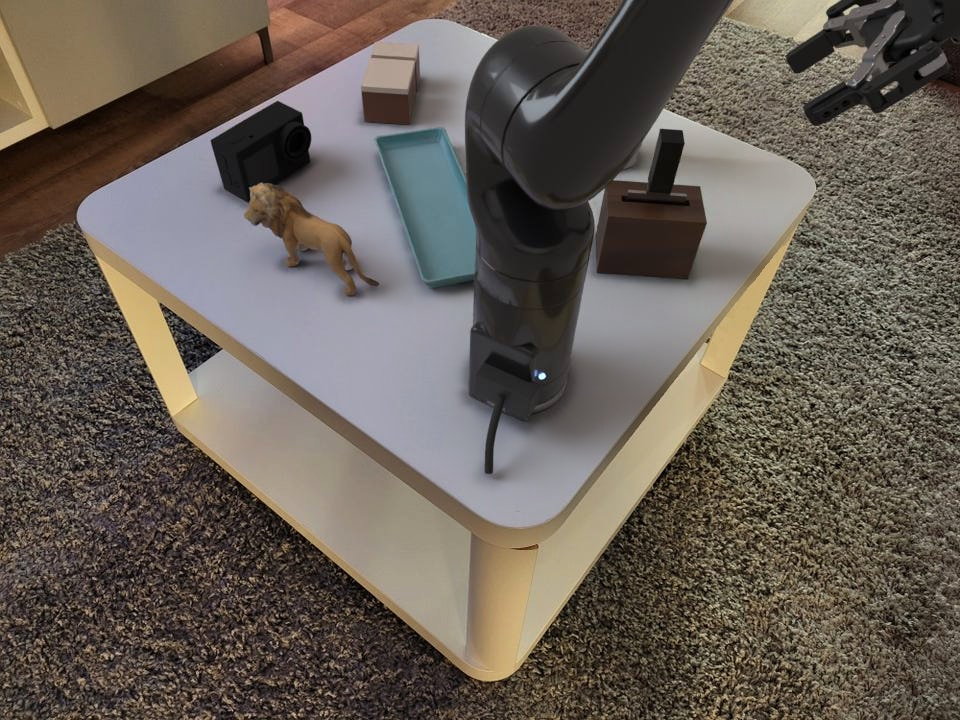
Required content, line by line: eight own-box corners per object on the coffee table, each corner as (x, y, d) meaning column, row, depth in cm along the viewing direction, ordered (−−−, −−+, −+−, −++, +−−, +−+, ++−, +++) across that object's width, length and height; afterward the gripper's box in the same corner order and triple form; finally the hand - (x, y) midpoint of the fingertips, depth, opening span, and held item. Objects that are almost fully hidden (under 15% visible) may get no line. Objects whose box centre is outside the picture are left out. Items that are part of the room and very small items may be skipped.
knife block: (688, 279, 83) (707, 222, 77) (596, 272, 83) (608, 215, 77) (682, 242, 87) (700, 185, 80) (595, 236, 87) (606, 179, 81)
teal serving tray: (506, 281, 82) (507, 264, 80) (423, 297, 80) (422, 280, 78) (444, 142, 98) (444, 125, 96) (374, 153, 96) (372, 136, 94)
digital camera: (255, 208, 88) (242, 157, 83) (223, 189, 90) (209, 139, 85) (318, 165, 94) (310, 115, 88) (286, 149, 96) (277, 99, 90)
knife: (668, 266, 84) (705, 144, 72) (614, 262, 84) (641, 140, 72) (666, 252, 85) (702, 131, 73) (613, 248, 86) (640, 126, 73)
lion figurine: (249, 262, 82) (230, 195, 76) (276, 233, 86) (261, 166, 79) (367, 304, 79) (359, 238, 72) (391, 272, 82) (386, 206, 75)
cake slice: (417, 92, 105) (415, 57, 101) (373, 89, 105) (370, 54, 101) (420, 79, 107) (418, 44, 103) (377, 76, 107) (375, 41, 103)
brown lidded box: (409, 125, 100) (407, 89, 96) (364, 122, 100) (360, 85, 96) (416, 96, 104) (414, 60, 100) (373, 93, 104) (369, 57, 100)
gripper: (952, -108, 62) (765, 21, 71) (1018, -31, 52) (793, 106, 62) (983, -36, 65) (802, 78, 75) (1049, 48, 56) (834, 165, 66)
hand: (798, 90), depth 68 cm, fingers open, 8 cm apart
